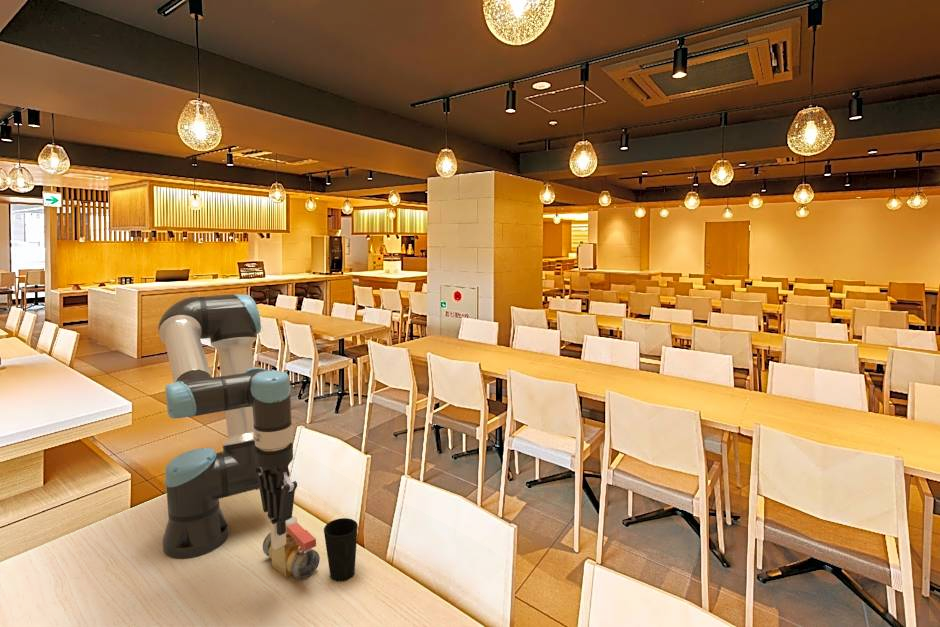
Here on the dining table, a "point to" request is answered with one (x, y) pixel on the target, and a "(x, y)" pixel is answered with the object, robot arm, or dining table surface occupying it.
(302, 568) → the valve body
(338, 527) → the cup
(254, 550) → the dining table surface
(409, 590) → the dining table surface
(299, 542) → the lever
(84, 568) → the dining table surface
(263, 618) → the dining table surface
